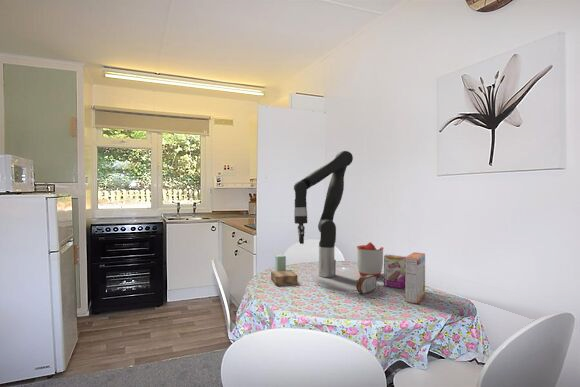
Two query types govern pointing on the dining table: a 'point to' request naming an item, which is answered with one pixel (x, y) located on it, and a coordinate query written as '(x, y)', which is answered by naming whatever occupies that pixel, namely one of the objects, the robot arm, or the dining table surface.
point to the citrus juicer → (369, 260)
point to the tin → (366, 283)
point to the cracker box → (414, 277)
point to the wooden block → (283, 277)
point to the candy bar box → (394, 271)
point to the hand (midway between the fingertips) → (301, 243)
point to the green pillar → (280, 263)
